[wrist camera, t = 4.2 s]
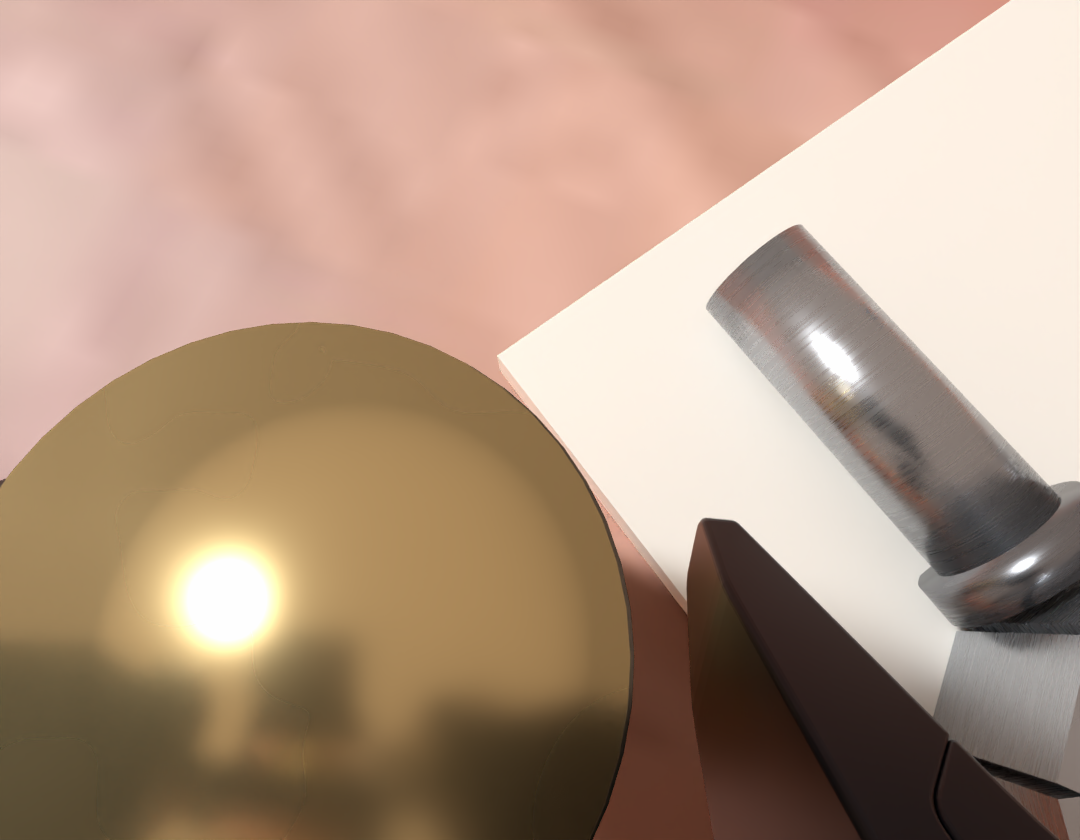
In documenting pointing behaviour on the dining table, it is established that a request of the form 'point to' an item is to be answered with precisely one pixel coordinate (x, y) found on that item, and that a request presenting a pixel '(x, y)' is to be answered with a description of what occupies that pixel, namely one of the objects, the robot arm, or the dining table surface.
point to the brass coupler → (307, 605)
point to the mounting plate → (898, 289)
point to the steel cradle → (937, 510)
